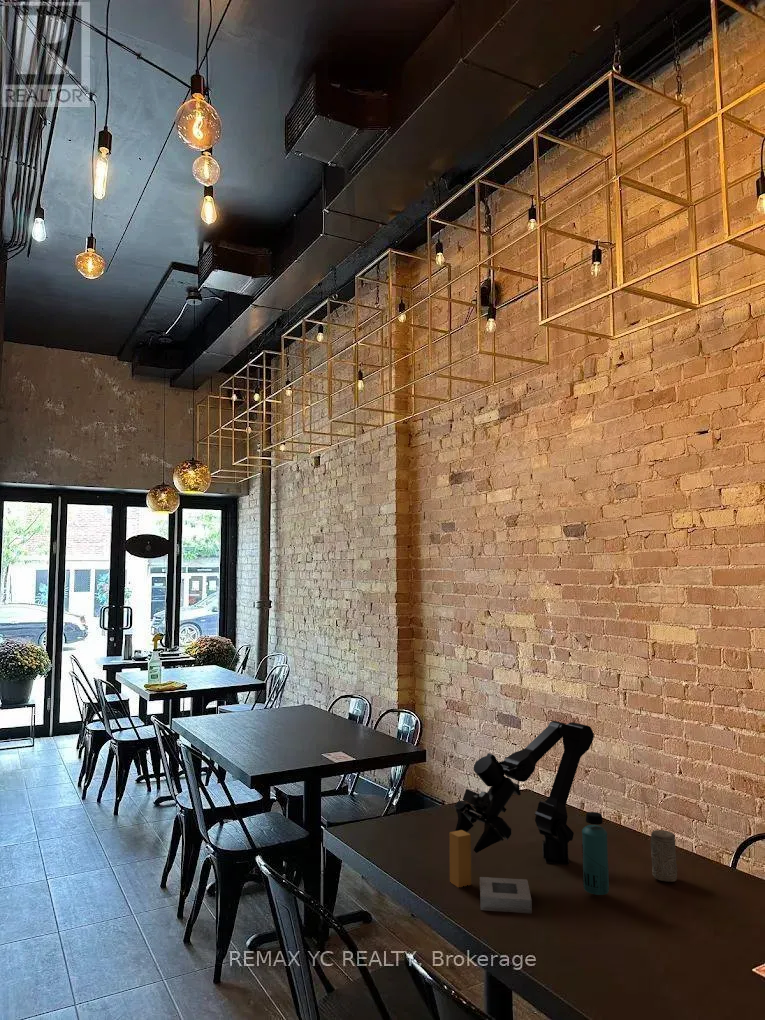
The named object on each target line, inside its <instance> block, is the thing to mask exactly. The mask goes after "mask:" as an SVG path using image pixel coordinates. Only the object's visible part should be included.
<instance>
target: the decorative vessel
mask: <svg viewBox="0 0 765 1020" xmlns="http://www.w3.org/2000/svg"><path fill="white" fill-rule="evenodd" d="M675 836H676V835H675V834H674V833H673V832H672V831H668V830H665V829H655V830H652V831H651V834H650V850H651V852H650V853H651V855H650V856H651V867H652V869H651V871H652V876H653V878H654V879H656V880H658V881H662V882H668V883H670V882H671V883H674V882H676V881H677V878H678V865H677V859H676V858H677V856H676V853H677V852H676V837H675Z"/></svg>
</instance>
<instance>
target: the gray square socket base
mask: <svg viewBox="0 0 765 1020" xmlns="http://www.w3.org/2000/svg"><path fill="white" fill-rule="evenodd" d="M479 899H480V900H479V902H480V911H485V912H486V911H489V912H501V913H502V912H505V913H517V914H518V913H519V914H521V913H522V914H532V913H533V911H532V910H533V909H532V907H533V906H532V903H533V902H532V901H533V900H532V897H531V891H530V887H529V882H528V879H524V878H507V877H505V878H504V877H491V876H490V877H489V876H479Z"/></svg>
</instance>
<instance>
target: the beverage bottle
mask: <svg viewBox="0 0 765 1020" xmlns="http://www.w3.org/2000/svg"><path fill="white" fill-rule="evenodd" d="M585 822H586V824H587V823H588V825H586V826H584V827H583V828H582V829H581V835H582V837H581V843H582V844H581V847H582V851H581V853H582V854H581V856H582V863H581V864H582V886H583V889H584V891H585V892H587V893H589V894H592V895H597V896H603V895H607V894H608V893H609V891H610V878H609V877H610V874H609V857H608V856H609V854H608V832H607V830H606V829H605V828H604V827H603V826H601V825H602V824H603V822H604V820H603V815H602V813H599V812H595V811H589V812H586V813H585Z"/></svg>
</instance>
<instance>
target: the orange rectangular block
mask: <svg viewBox="0 0 765 1020" xmlns="http://www.w3.org/2000/svg"><path fill="white" fill-rule="evenodd" d="M450 882H451V883H450ZM449 883H450V884H452V885H454V886H455V887H456V888H459V887H460V888H463V886H464V887H467V885H468V886H471V885H472V835H471V833H469V832H465V831H463V830H459V831H455V830H454V831H450V832H449Z"/></svg>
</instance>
